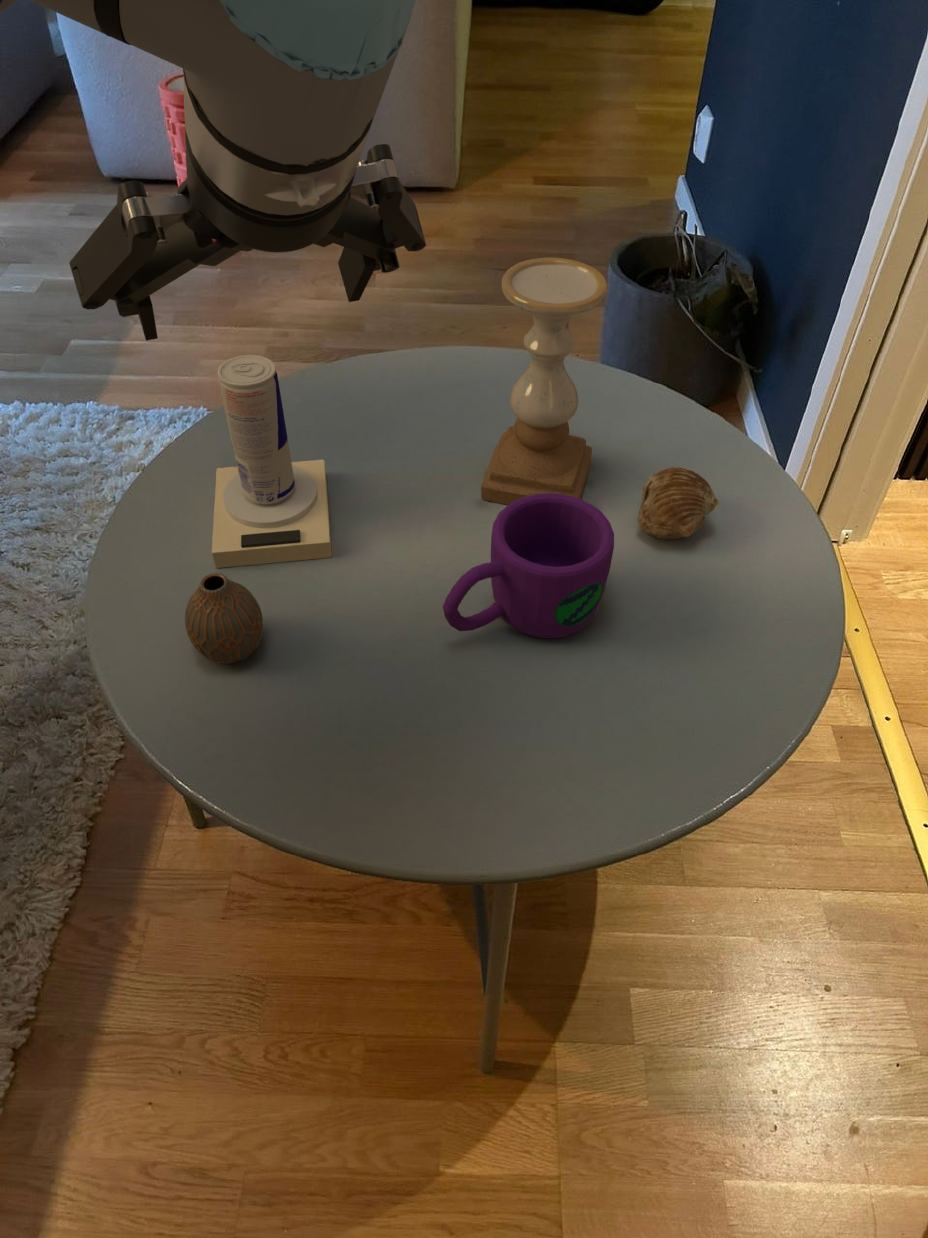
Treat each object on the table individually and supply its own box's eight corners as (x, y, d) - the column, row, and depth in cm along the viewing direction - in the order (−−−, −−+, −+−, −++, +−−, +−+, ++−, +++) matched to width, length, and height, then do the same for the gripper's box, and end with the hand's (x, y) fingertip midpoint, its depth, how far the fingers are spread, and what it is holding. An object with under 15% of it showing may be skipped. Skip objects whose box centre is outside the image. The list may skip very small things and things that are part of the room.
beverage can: (303, 497, 97) (285, 374, 86) (254, 513, 95) (228, 390, 84) (284, 468, 100) (263, 347, 89) (235, 484, 98) (208, 361, 87)
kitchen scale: (215, 568, 94) (210, 546, 92) (220, 483, 103) (215, 462, 101) (332, 557, 95) (329, 536, 93) (326, 474, 104) (323, 453, 102)
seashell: (711, 512, 102) (641, 492, 103) (730, 461, 96) (657, 440, 98) (698, 563, 95) (624, 541, 96) (718, 511, 90) (640, 489, 91)
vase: (182, 667, 85) (159, 602, 78) (213, 615, 89) (194, 549, 83) (251, 681, 84) (234, 617, 77) (278, 627, 88) (265, 562, 82)
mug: (559, 551, 96) (568, 476, 89) (625, 619, 89) (641, 545, 82) (415, 612, 90) (412, 537, 82) (475, 690, 83) (477, 616, 76)
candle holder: (575, 517, 100) (602, 316, 82) (479, 499, 102) (485, 299, 84) (592, 458, 107) (619, 262, 89) (502, 443, 109) (511, 248, 91)
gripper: (-3, 270, 37) (71, 394, 57) (552, 180, 43) (440, 320, 64) (-60, 82, 36) (35, 276, 56) (512, 20, 43) (412, 213, 63)
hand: (250, 299), depth 60 cm, fingers open, 13 cm apart
